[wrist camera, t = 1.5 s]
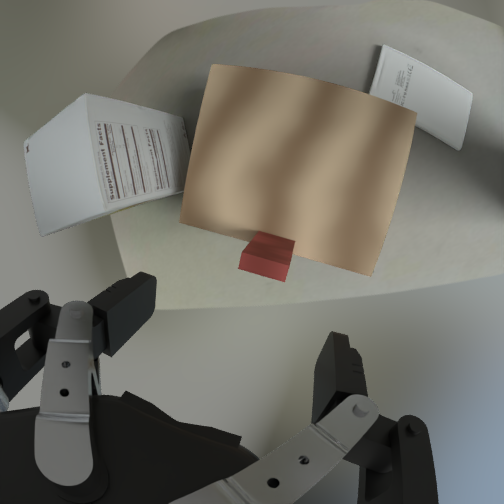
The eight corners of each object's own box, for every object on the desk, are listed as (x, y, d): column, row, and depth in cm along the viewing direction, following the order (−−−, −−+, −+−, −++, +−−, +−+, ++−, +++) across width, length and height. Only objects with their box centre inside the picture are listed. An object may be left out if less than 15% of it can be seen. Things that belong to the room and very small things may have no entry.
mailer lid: (414, 114, 18) (447, 99, 12) (369, 273, 24) (385, 310, 17) (214, 66, 21) (183, 39, 14) (182, 220, 26) (144, 239, 20)
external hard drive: (455, 150, 24) (364, 103, 25) (467, 95, 21) (380, 47, 22) (461, 150, 23) (367, 100, 24) (473, 93, 20) (383, 42, 21)
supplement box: (138, 206, 34) (38, 240, 19) (123, 141, 32) (19, 143, 16) (201, 187, 32) (106, 214, 16) (184, 115, 29) (84, 89, 14)
